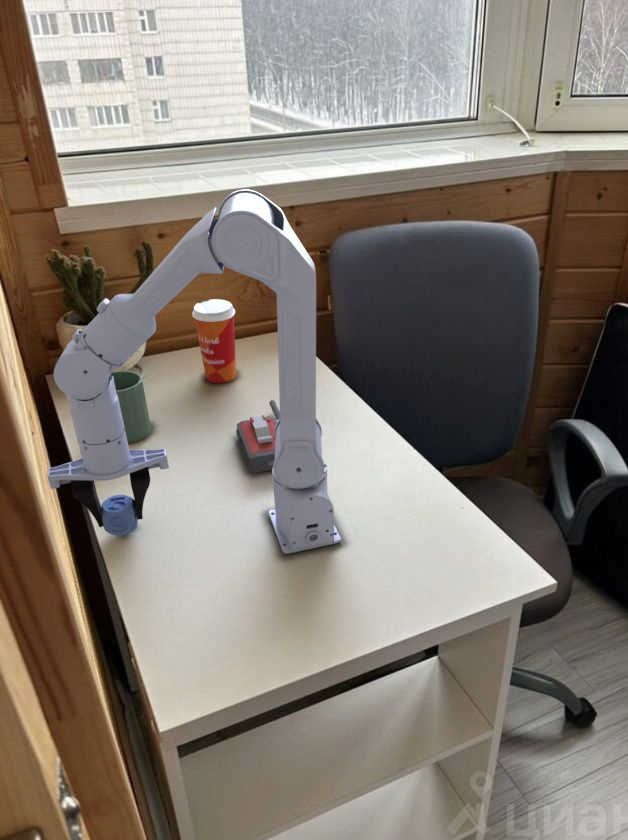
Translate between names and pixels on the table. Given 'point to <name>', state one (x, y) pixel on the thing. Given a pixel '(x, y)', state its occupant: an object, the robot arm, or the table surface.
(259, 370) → the table surface
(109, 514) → the decorative dice
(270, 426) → the walkie-talkie
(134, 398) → the pencil cup
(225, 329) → the paper cup
